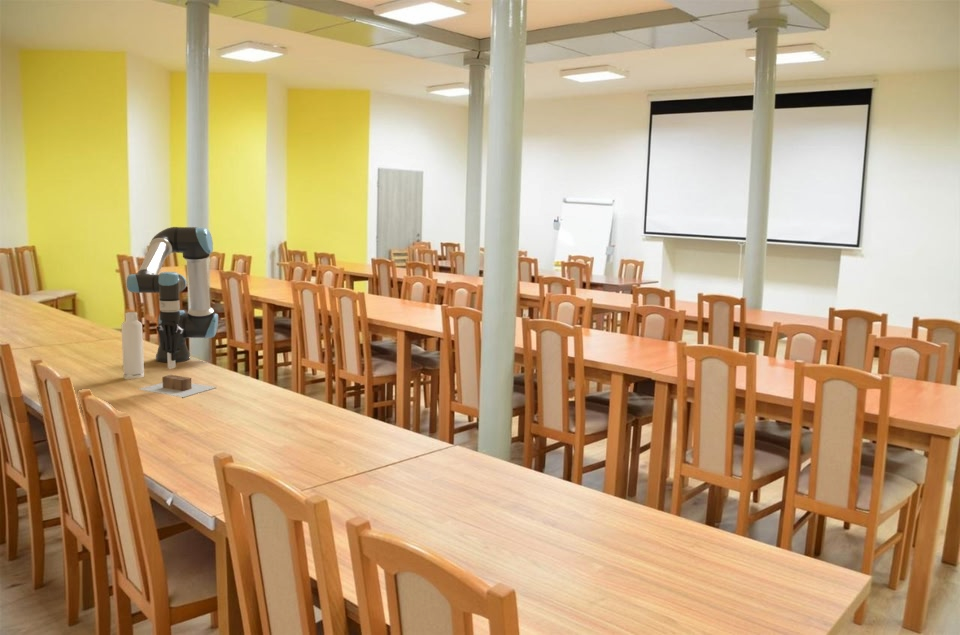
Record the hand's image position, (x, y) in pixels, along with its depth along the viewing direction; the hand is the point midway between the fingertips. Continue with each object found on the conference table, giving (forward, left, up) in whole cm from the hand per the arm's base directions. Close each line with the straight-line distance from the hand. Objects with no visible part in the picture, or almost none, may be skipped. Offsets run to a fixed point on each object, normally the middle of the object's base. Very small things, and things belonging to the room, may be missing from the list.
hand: (171, 368), depth 307 cm
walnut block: (0, -3, -6) cm, 7 cm away
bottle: (-6, -28, -9) cm, 30 cm away
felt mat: (0, +3, -9) cm, 9 cm away
